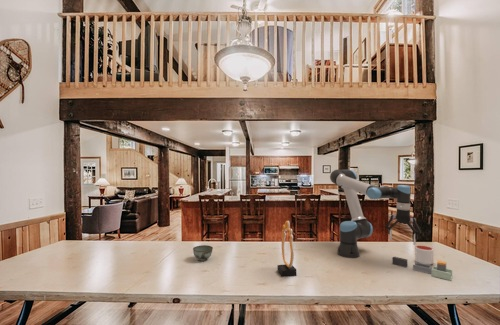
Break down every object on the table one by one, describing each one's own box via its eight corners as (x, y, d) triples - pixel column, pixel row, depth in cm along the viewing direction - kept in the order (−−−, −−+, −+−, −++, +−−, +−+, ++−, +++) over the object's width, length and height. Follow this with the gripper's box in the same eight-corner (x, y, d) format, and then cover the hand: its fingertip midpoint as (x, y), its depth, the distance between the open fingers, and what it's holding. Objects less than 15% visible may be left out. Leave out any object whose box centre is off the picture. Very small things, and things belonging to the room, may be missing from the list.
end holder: (431, 276, 152) (431, 269, 152) (433, 272, 158) (433, 265, 158) (450, 280, 146) (450, 273, 146) (452, 276, 151) (452, 269, 152)
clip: (413, 270, 161) (412, 265, 161) (415, 266, 166) (415, 262, 166) (430, 274, 155) (430, 269, 155) (432, 270, 160) (432, 265, 160)
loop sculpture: (275, 268, 163) (275, 218, 164) (288, 267, 165) (288, 217, 166) (284, 280, 147) (284, 224, 147) (299, 278, 149) (299, 223, 149)
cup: (436, 266, 168) (436, 250, 168) (419, 264, 170) (419, 249, 170) (429, 260, 177) (428, 246, 178) (412, 259, 179) (412, 245, 180)
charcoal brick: (392, 264, 171) (392, 257, 171) (393, 263, 173) (393, 256, 173) (406, 267, 165) (406, 260, 165) (407, 266, 167) (407, 259, 167)
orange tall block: (437, 275, 152) (437, 262, 152) (438, 273, 155) (437, 260, 155) (445, 277, 149) (445, 263, 149) (446, 275, 152) (446, 261, 152)
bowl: (188, 261, 175) (188, 249, 175) (199, 255, 188) (199, 244, 188) (206, 264, 170) (206, 252, 170) (216, 257, 183) (216, 246, 183)
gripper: (380, 207, 173) (379, 238, 173) (425, 213, 156) (424, 247, 157) (383, 205, 178) (382, 236, 179) (427, 211, 162) (426, 244, 162)
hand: (402, 241), depth 168 cm, fingers open, 13 cm apart
